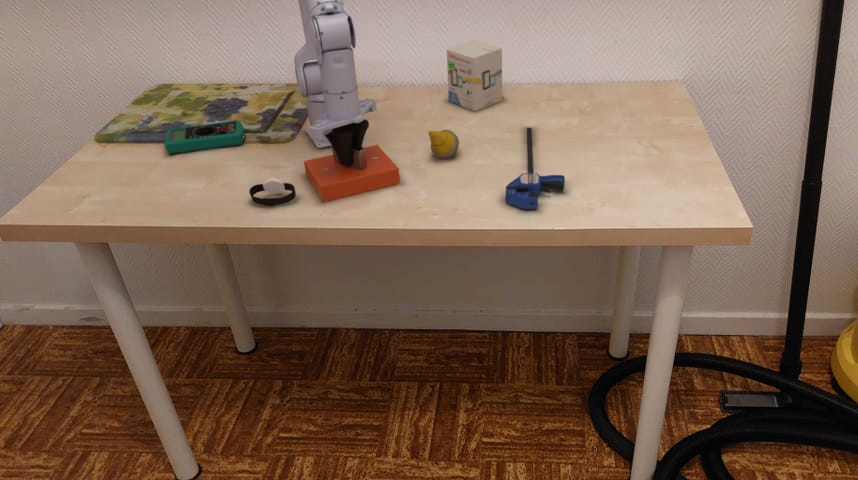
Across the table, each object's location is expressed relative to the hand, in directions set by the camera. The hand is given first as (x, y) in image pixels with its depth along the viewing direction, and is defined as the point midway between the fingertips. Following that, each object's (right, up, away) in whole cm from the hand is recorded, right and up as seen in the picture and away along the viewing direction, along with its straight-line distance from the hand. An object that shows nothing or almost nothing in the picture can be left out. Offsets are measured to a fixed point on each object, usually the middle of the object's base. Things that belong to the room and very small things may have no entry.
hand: (350, 162), depth 130 cm
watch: (-12, -7, -3) cm, 15 cm away
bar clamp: (+33, 0, +4) cm, 33 cm away
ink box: (+23, +18, +30) cm, 41 cm away
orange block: (0, -3, +2) cm, 3 cm away
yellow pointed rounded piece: (+16, +2, +8) cm, 18 cm away
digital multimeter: (-31, +6, +17) cm, 36 cm away
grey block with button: (0, 0, 0) cm, 0 cm away
